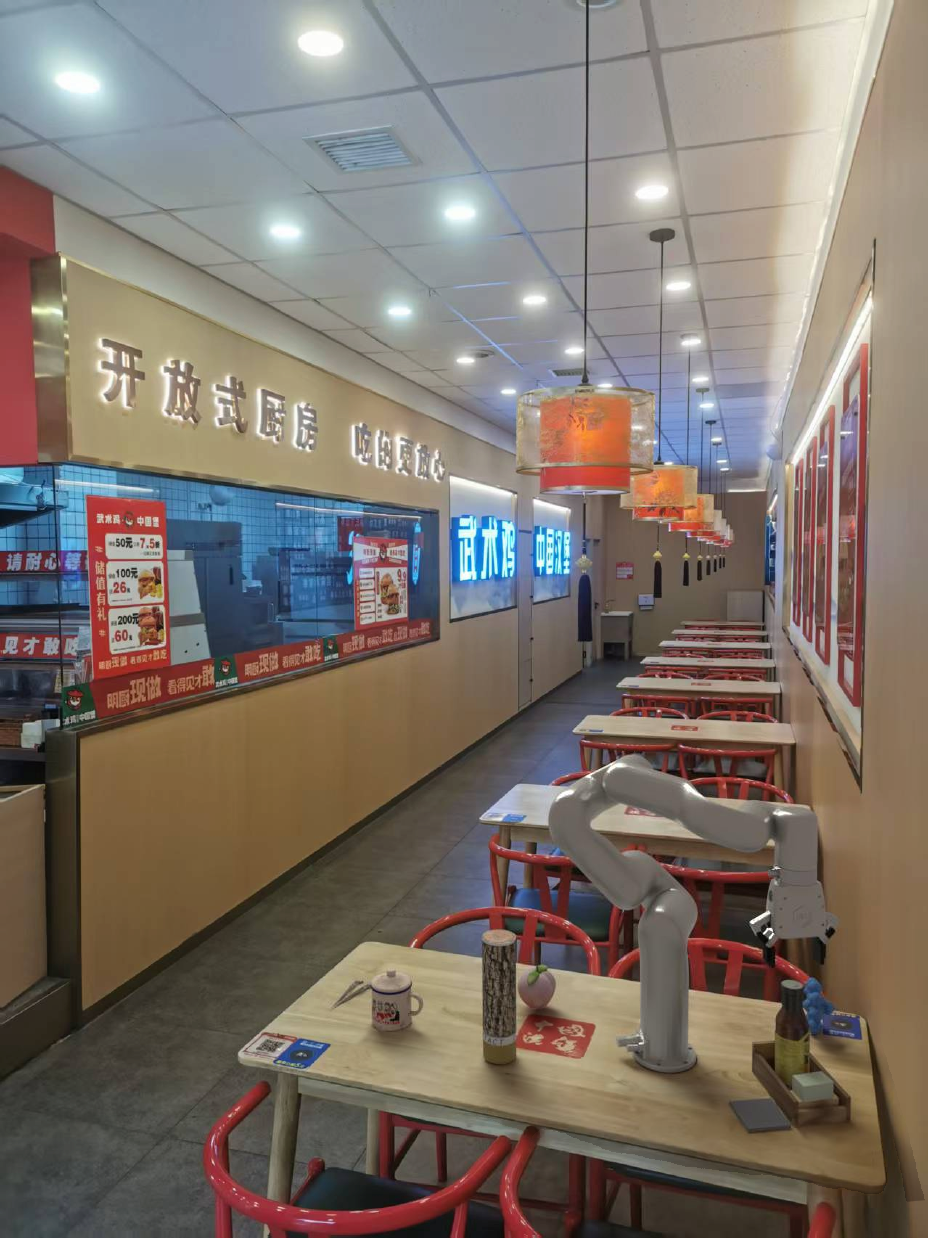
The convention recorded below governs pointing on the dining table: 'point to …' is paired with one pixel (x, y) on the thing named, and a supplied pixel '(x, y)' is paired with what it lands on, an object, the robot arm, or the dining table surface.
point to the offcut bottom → (818, 1102)
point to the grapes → (816, 1005)
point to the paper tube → (499, 996)
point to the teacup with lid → (393, 1000)
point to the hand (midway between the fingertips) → (794, 963)
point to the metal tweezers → (352, 993)
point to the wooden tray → (786, 1100)
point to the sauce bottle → (791, 1034)
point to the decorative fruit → (536, 987)
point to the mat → (759, 1115)
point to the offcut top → (812, 1086)
